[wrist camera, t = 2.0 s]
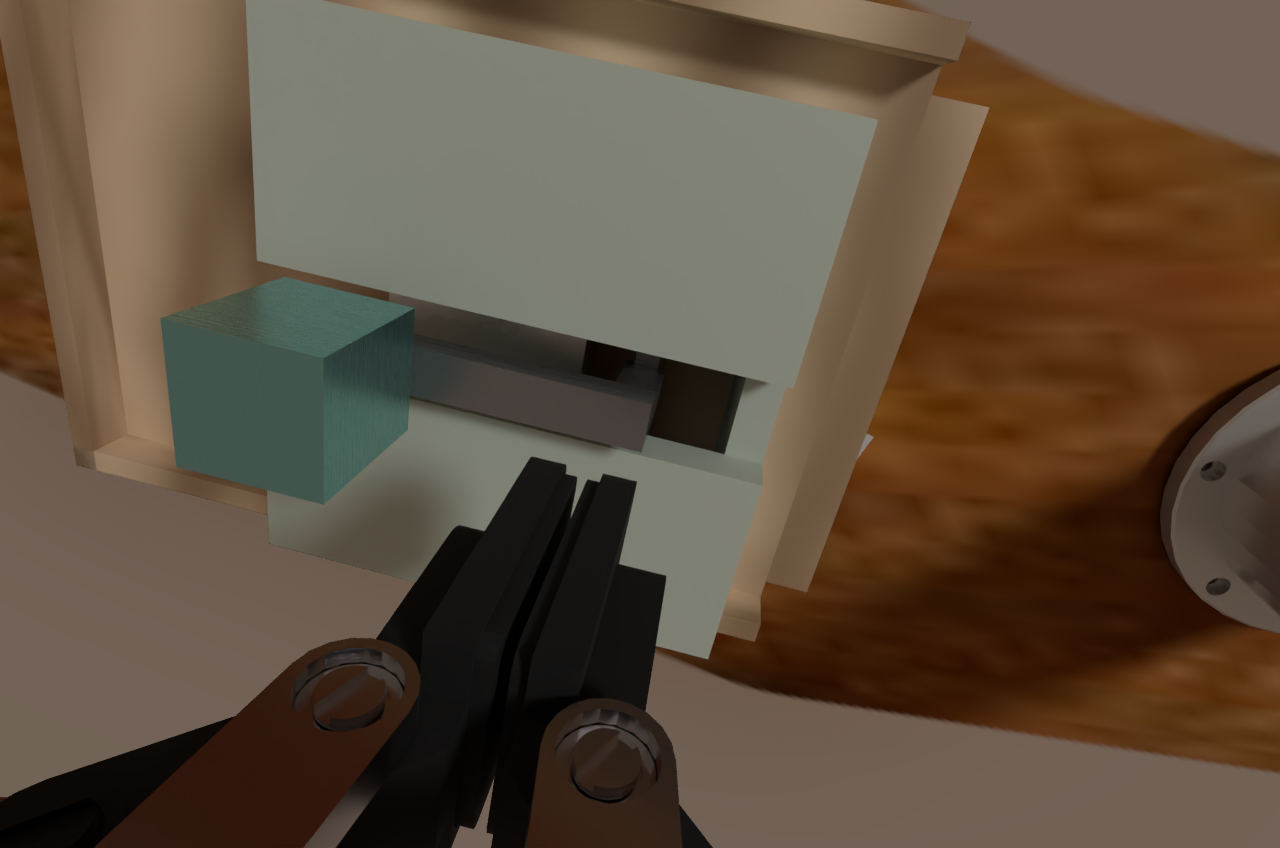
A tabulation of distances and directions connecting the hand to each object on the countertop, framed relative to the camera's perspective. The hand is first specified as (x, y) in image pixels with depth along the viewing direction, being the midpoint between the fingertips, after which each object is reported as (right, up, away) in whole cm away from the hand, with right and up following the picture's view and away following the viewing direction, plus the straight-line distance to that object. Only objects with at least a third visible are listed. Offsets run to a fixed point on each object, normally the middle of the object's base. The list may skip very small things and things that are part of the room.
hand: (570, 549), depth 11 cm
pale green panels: (-1, +5, +11) cm, 12 cm away
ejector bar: (-2, +6, +11) cm, 12 cm away
